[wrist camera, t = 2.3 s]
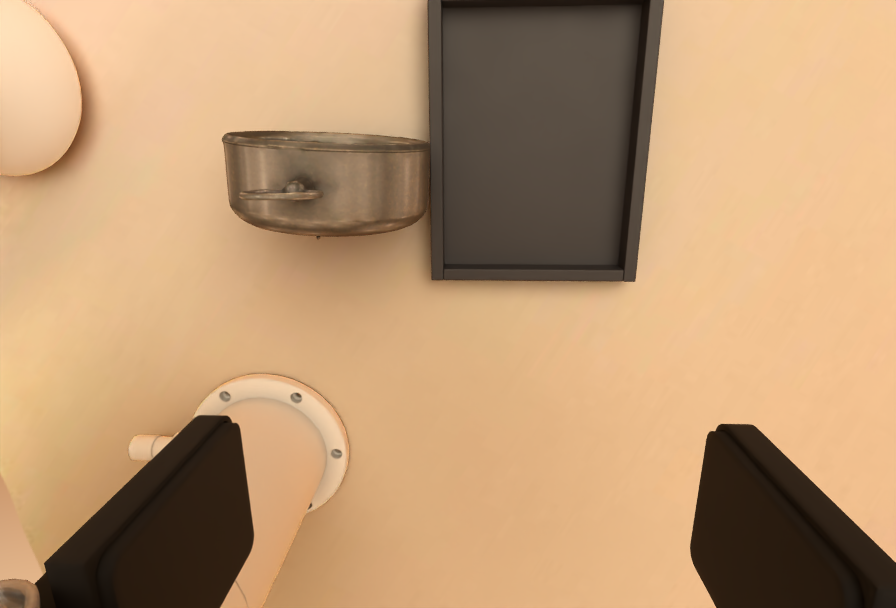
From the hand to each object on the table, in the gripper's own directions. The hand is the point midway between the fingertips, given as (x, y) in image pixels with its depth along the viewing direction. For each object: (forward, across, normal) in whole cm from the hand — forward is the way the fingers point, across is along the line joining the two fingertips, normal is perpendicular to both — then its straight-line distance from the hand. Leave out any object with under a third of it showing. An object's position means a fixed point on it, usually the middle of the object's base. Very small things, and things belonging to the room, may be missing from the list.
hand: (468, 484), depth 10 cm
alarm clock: (+27, +8, -5) cm, 29 cm away
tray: (+27, -4, -7) cm, 28 cm away
